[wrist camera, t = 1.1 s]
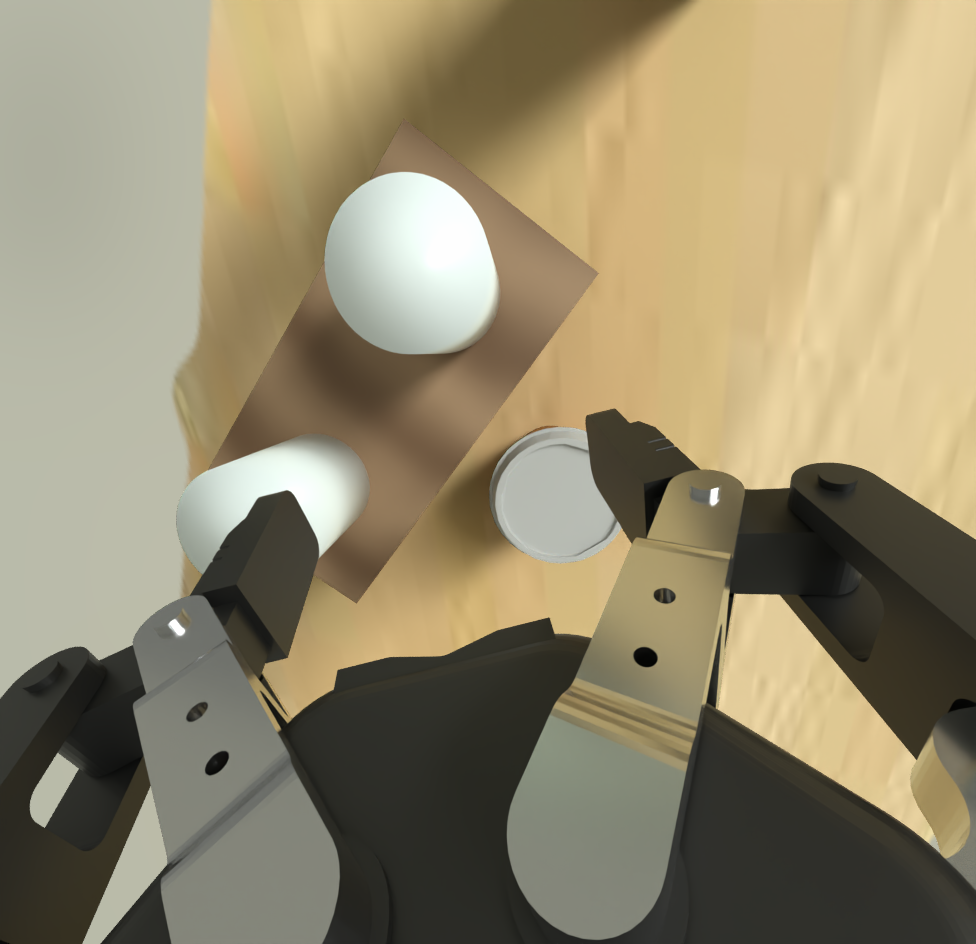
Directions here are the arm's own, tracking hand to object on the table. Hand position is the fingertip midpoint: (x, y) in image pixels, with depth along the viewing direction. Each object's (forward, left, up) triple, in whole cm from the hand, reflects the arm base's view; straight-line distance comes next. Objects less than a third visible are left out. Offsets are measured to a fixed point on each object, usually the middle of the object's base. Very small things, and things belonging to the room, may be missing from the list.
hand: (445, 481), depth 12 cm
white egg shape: (-4, -5, -11) cm, 13 cm away
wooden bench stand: (+2, -5, -28) cm, 29 cm away
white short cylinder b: (+8, -5, -11) cm, 15 cm away
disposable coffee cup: (+2, +7, -29) cm, 30 cm away
